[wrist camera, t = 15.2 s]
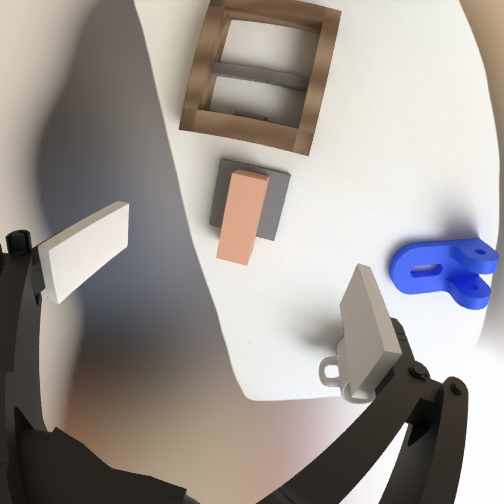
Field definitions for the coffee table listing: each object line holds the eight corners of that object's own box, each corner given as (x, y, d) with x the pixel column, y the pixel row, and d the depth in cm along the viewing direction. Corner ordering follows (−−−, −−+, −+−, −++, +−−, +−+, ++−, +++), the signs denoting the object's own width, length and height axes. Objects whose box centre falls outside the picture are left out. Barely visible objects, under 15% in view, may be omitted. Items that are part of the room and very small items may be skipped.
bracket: (478, 238, 37) (506, 259, 29) (471, 280, 41) (494, 306, 32) (390, 244, 41) (409, 269, 33) (387, 290, 44) (402, 321, 36)
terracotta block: (239, 168, 39) (232, 173, 35) (269, 176, 39) (266, 180, 35) (223, 245, 44) (216, 257, 40) (251, 252, 44) (246, 265, 40)
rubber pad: (222, 158, 40) (221, 159, 39) (290, 174, 39) (290, 175, 38) (211, 222, 44) (209, 224, 43) (274, 238, 43) (273, 241, 42)
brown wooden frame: (222, 6, 30) (213, -8, 25) (336, 24, 29) (341, 11, 24) (191, 129, 39) (178, 129, 34) (307, 153, 38) (308, 156, 33)
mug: (382, 326, 47) (395, 368, 37) (376, 359, 50) (386, 401, 40) (317, 332, 49) (319, 376, 39) (317, 364, 52) (318, 408, 42)
